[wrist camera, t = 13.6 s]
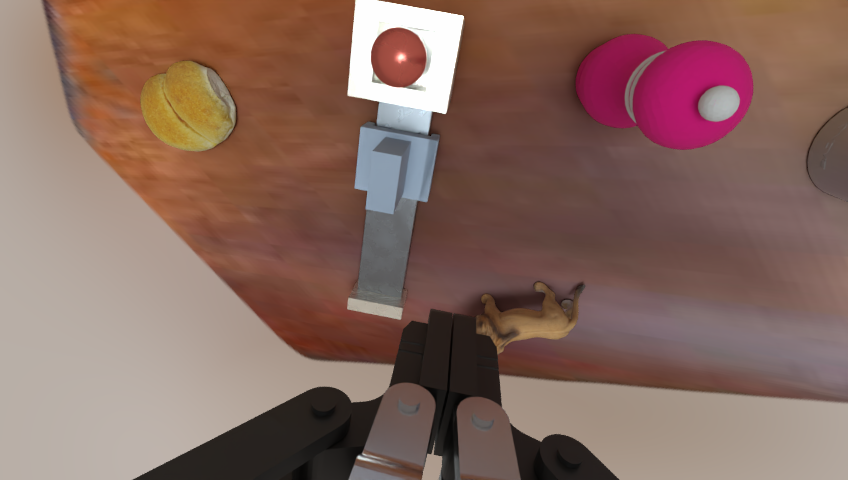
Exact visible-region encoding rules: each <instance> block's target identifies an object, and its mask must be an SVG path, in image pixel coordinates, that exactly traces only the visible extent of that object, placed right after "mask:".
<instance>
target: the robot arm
mask: <svg viewBox="0 0 848 480" xmlns="http://www.w3.org/2000/svg"><path fill="white" fill-rule="evenodd" d="M808 172H809V175H810V178H811V180H812V181H813V183H814V184H815V185H816V187H818V188H819V189H820V190H822V191H823V192H825V193H827V194H830V195H832V196H834V197H837V198H839V199H842V200H844V201H846V202H848V108H846V109H844V110H842V111H841V112H839V113H838V114H837V115H836V116H834V117H833V118H832V119H831V120H829V121H828V123H827V124H826V125H825V126H824V127H823V128H822V129H821V130H820V132H819V133H818V135H817V136H816V138H815V139H814V141H813V144H812V146H811V148H810V151H809V156H808ZM498 369H499V368H498V356H497V347H496V345H495V344H494V342H493V341H492V339H491V337H490V336H487V335H482V334H477V333H476V317H471V316H466V315H461V314H456V313H454V314H453V318H452V313H450V312H445V311H440V310H435V309H431V310H430V314H429V319H428V324H426V323H421V322H416V321H411V322H410V323H409V324H408V325H407V326H406V327H405V328H404V329H403V333H402V337H401V342H400V345H399V350H398V354H397V358H396V362H395V366H394V370H393V374H392V379H391V383H390V386H389V388H388V389H387V390H386V392H385V393H384V394H383V395H382V396H380V397H378V398H376V399H374V400H371V401H366V402H353V403H351V401H350V399H349V397H348V396H347V395H346V394H345V393H344V392H342V391H340V390H338V389H336V388H332V387H317V388H313V389H310V390H308V391H306V392H304V393H302V394H300V395H298V396H296V397H294V398H292V399H290V400H288V401H286V402H285V403H283V404H280V405H279V406H277V407H275V408H273V409H271V410H269V411H267V412H265V413H263V414H261V415H259V416H257V417H255V418H253V419H251V420H249V421H247V422H245V423H243V424H241V425H239V426H237V427H235V428H233V429H231V430H229V431H227V432H225V433H223V434H221V435H220V436H218V437H216V438H214V439H212V440H210V441H208V442H206V443H204V444H202V445H200V446H198V447H196V448H194V449H192V450H190V451H188V452H186V453H184V454H182V455H180V456H178V457H176V458H175V459H172V460H170V461H168V462H166V463H164V464H163V465H161V466H159V467H157V468H155V469H153V470H151V471H149V472H147V473H145V474H143V475H141V476H139V477H137V478H135V479H133V480H422V475H423V469H424V466H425V462H426V457H427V454H431V453H432V450H433V445H434V441H435V447H434V455H438V456H443V457H442V469H441V473H440V476H439V480H619V479H618V478H617V477H616V476H615V475H614V474H613V473H612V472H611V471H610V470H609V469H608V468H607V467H606V466H604V464H603V463H602V462H601V461H600V460H599V459H598V458H596V457H595V456H594V455H593V454H592V453H591V452H590V451H589V450H588V449H587V448H586V447H585V446H584V445H583V444H581V443H580V442H579V441H577V440H575V439H573V438H571V437H569V436H565V435H560V434H554V435H549V436H547V437H545V438H544V439H543V440H542V442H540V441H538V440H536V439H534V438H532V437H530V436H528V435H526V434H523V433H522V432H520V431H519V430H517V429H516V428H515V427H514V426H512V424H511V423H510V421H509V417H508V415H507V414H506V412H505V411H504V409H503V408H502V404H501V392H500V380H499V371H498Z"/></svg>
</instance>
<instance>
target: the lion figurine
mask: <svg viewBox="0 0 848 480" xmlns="http://www.w3.org/2000/svg"><path fill="white" fill-rule="evenodd" d="M584 288H585V285H581V286H579V287H578V288H577V289H576V292H575V294H574V300H573V302H572V301H571V300H564V301H562V303H561V306H562V307H563V308H564V309H567V310H566V311H565V312H564V310H563V309H562V308H561V307H560V305H559V304H558V303H557V302H556V301H555V293H554V292H553V291H551V290H550V289H549V288H548V287H547V286H546V285H545V284H544V283H542V282H536V283H535V284H534V289H535V291H536V292H544V293H545V295H546V296H545V299H544V301H543V304H542V306H543V307H542V310H541V311H535V310H531V309H526V308H516V309H511V310H507V311H504V312H500V311H499V310H498V309H497V308H496V305H495V300H494V299H493V298H492V296H490V295H489V294H484V295H483V296H482V298H481V300H482V302H483V303H484V304H486V306H485V314H481V315H476V333H477V334H482V335H487V336H490V337H491V339H492V341H493V342H494V344H495V345H496V347H497V356H498V354H499V353H501V352H503V350H504V346H506V345H507V344H508V343H510V342H512V341H516V340H524V339H529V338H533V337H542V338H548V339H560V338H562V337H565V336H567V335H568V333H569V331H570V330H571V329H572V328H573V327H574V326H575V324H576V322H577V320H578V300H579V296H580V294H581V293H582V291H583V289H584Z"/></svg>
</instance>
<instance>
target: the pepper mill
mask: <svg viewBox="0 0 848 480" xmlns="http://www.w3.org/2000/svg"><path fill="white" fill-rule="evenodd" d="M576 92H577V95H578V98H579V100H580V101H581V103H582V104H583V106H584V108H585V110H586V111H587V113H588V114H589V115H590V116H591V117H592V118H593V119H594V120H596V121H597V122H599V123H601V124H603V125H607V126H610V127H614V128H630V127H634V126H638V127H639V128H640V130H641V131H642V132H643V134H644V135H645V136H646V137H647V138H649V139H650V140H651V141H653V142H654V143H657V144H659V145H661V146H664V147H667V148H672V149H680V150H686V149H695V148H699V147H703V146H706V145H708V144H711V143H714V142H716V141H717V140H719V139H721V138H723V137H724V136H725V135H727V134H728V133H729V132H730V131H732V130H733V129H734V128H735V127H736V125H737V124H738V123H739V122H740V121H741V120H742V118H743V117H744V115H745V114H746V112H747V110H748V108H749V106H750V103H751V99H752V95H753V79H752V73H751V70H750V68H749V65H748V64H747V62H746V61H745V59H744V58H743V57H742V56H741V55H740V54H739V53H738V52H737V51H735V50H734V49H732V48H731V47H729V46H727V45H725V44H721V43H717V42H713V41H707V40H703V41H692V42H687V43H683V44H680V45H677V46H675V47H672V48H670V49H668V48H667V47H666V46H665V45H664V44H663V43H662V42H660V41H659V40H657V39H655V38H653V37H650V36H645V35H639V34H627V35H623V36H619V37H616V38H614V39H612V40H610V41H608V42H606V43H605V44H603V45H601V46H599V47H597V48H595V49H594V50H593V51H591V52H590V53H589V54H588V55H587V56H586V57H585V59H584V60H583V62H582V63H581V65H580V67H579V69H578V72H577V76H576Z"/></svg>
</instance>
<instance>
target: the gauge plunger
mask: <svg viewBox="0 0 848 480" xmlns="http://www.w3.org/2000/svg"><path fill="white" fill-rule="evenodd" d="M427 60H428V53H427V49H426V47H425V45H424V44H423V42H422V40H421V39H420V37H419V36H418V35H417V34H415V33H414V32H412V31H411V30H408V29H405V28H401V27H394V28H390V29H387V30H385V31H383V32H382V33H381V34H380V35H379V36H378V37H377V38H376V40H375V41H374V43H373V46H372V49H371V65H372V68H373V70H374V72H375V74H376V76H377V77H378V78H379V79H380V80H381V81H382V82H383V83H385V84H386V85H388V86H391V87H395V88H403V87H407V86H409V85H411V84H413V83H415V82H416V81H417V80H418V79H419V78H420V77H421V76H422V74H423V72H424V70H425V67H426V64H427Z"/></svg>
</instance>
